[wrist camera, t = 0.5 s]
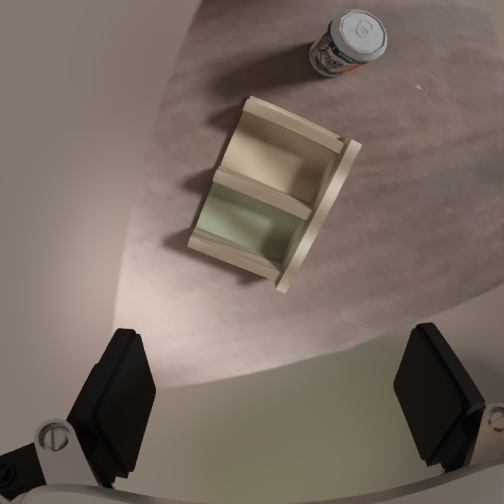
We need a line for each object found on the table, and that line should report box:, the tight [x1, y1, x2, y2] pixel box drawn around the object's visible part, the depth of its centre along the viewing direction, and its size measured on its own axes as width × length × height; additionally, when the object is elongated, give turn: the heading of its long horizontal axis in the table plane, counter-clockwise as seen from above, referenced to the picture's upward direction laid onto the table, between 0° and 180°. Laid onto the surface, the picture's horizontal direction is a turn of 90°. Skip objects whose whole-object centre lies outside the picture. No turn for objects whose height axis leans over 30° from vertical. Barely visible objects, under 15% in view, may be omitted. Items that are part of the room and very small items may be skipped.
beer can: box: [309, 9, 387, 77], centre depth 24 cm, size 5×5×12 cm
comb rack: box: [187, 96, 361, 293], centre depth 33 cm, size 18×12×5 cm, turn 157°
